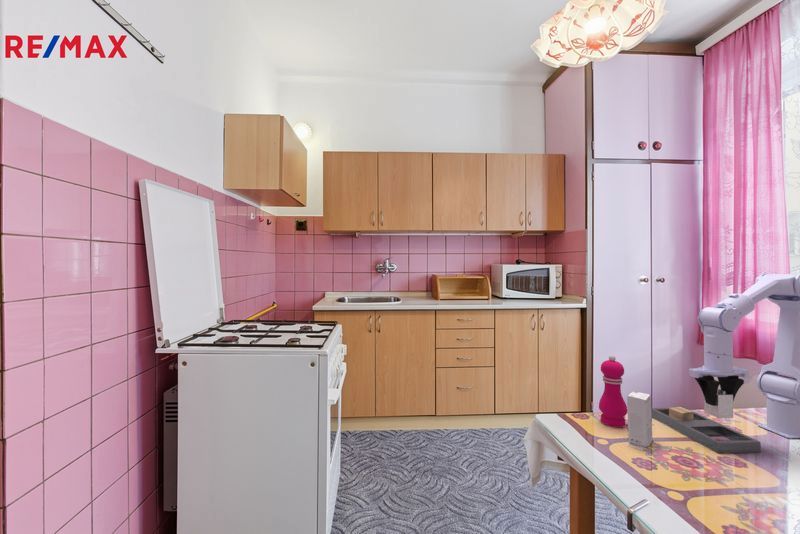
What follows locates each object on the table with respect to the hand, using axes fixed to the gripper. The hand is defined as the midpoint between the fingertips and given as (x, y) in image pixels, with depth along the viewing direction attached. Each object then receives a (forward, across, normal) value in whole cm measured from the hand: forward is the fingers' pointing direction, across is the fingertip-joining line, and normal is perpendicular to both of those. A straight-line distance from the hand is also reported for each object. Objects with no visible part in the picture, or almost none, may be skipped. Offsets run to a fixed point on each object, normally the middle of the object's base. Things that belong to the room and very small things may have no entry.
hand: (718, 404), depth 92 cm
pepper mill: (+10, +21, -12) cm, 26 cm away
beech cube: (+10, +1, -11) cm, 14 cm away
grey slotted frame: (+10, +1, -5) cm, 11 cm away
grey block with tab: (+3, 0, 0) cm, 3 cm away
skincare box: (+10, +21, -1) cm, 23 cm away
